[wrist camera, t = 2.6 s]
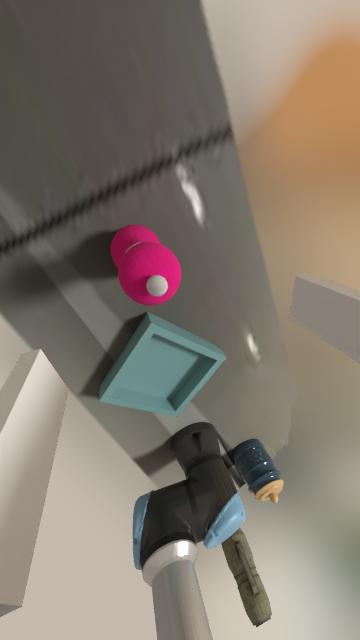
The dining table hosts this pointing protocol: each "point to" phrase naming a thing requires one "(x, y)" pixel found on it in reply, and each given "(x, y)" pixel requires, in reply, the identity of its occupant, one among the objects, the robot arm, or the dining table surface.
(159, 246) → the pepper mill
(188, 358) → the tray
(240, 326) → the dining table surface
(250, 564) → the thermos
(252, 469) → the canister
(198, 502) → the robot arm
